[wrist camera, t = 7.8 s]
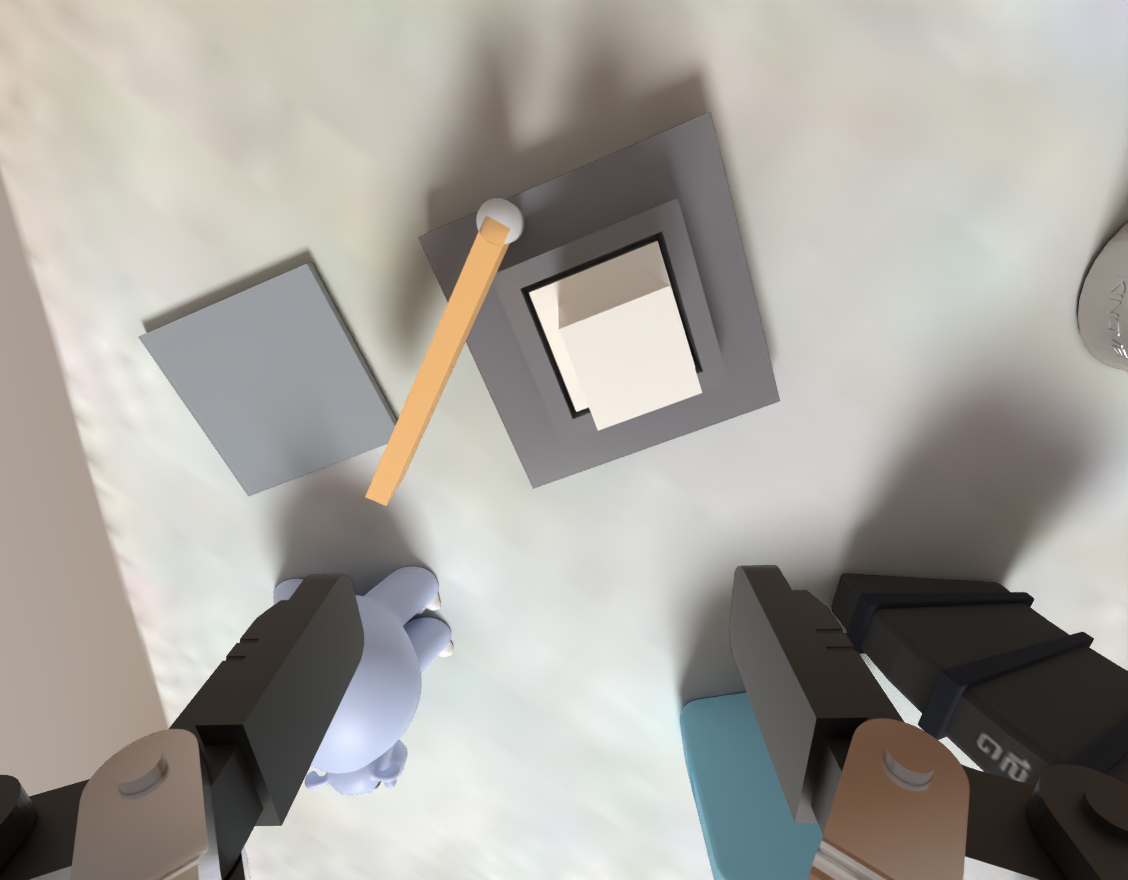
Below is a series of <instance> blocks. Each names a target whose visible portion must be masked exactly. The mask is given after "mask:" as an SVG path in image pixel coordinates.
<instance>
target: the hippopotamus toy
mask: <svg viewBox="0 0 1128 880" xmlns="http://www.w3.org/2000/svg"><path fill="white" fill-rule="evenodd" d="M303 580H304V579H289V580H285V581H283V582H281V583H280V584H279V585H278V586H277V587H276V589H275V591H274V605H275V604H276V603H278V602H279V601H280V600H289V598H290V597H291V596H292V594H293V593H294V592H295V590H296V589H297V588H298V586H299V585H300V584H301V582H302V581H303ZM355 596H356V600H357V604H358V608H359V613H360V617H361V621H362V625H363V630H364V649H363V654H362V658H361V661H360V663H359V665H358V668H357V670H356V672H355V674H354V676H353V678H352V680H351V682H350V684H349V686H348V688H347V690H346V693H345V695H344V697H343V699H342V701H341V703H340V705H339V707H338V709H337V711H336V713H335V716H334V718H333V720H332V722H331V724H330V726H329V728H328V730H327V732H326V734H325V736H324V738H323V741H322V743H321V745H320V747H319V749H318V751H317V753H316V755H315V757H314V759H313V761H312V763H311V766H313V767H315V768H317V769H319V770H322V771H324V772H327V773H326V775H324V776H319V775H318V774H317V773H316V772H315V771H312V772H310V773H309V774H308V775H307V776H306V778H305V786H306V787H307V788H308V789H314V788H318V787H321V786H324V785H327V784H330V785H331V786H332V787H333V788H334V789H335V790H336V791H338V792H339V793H340V794H342V795H350V796H354V795H360V794H364V793H370V792H372V791H373V790H374V789H377V788H378V787H379V785H380V783H381V782H383V783H384V784H385V786H386V787H387V788H392V787H394V786H395V784H396V780H397V778H398V776H399V775H400V774H401V773H402V771H403V769H404V765H405V762H406V759H407V748H406V747H405V745H404V744H403V743H402V742H401V741H400V740H399V739H400V737H401V736H402V735H403V734H404V732H405V731H406V729H407V728H408V726H409V724H410V723H411V721H412V719H413V717H414V715H415V712H416V709H417V707H418V703H419V699H420V694H421V673H422V671H423V670H424V669H425V668H426V667H427V666H428V665H429V664H430V663H431V662H432V661H433V660H434V659H435V658H436V657H437V655H439V656H441V657H446V656H449V655H451V654H452V653H453V645H452V643H451V641H450V639H451V632H450V629H449V627H448V626H447V625H446V624H445V623H444V622H442V621H440V620H438V619H435V618H429V617H423V618H417V619H414V620H412V621H410V622H408V621H409V620H410V619H411V618H412V617H413V616H414V615H416V614H421V613H423V612H424V611H425V609H429V610H432V611H435V610H438V609H439V608H440V607H441V605H440V601H439V596H438V582H437V579H436V577H435V576H434V575H433V574H432V573H431V572H430V571H428V570H426V569H424V568H421V567H416V566H409V567H403V568H400V569H398V570H396V571H394V572H393V573H391V574H390V575H389V576H388V577H386V578H385V579H384V580H383V581H381V582H380V583H379V584H378V585H376V586H375V587H374V588H373V589H371V590H370V591H369V592H368V593H366V594H365V595H364V596H360V595H355ZM407 622H408V623H407ZM406 623H407V624H406ZM405 624H406V625H405Z"/></svg>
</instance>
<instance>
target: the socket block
mask: <svg viewBox="0 0 1128 880" xmlns="http://www.w3.org/2000/svg"><path fill="white" fill-rule="evenodd" d="M506 200H507V201H509V202H511V203H512V204H514V205H515V206H517V207H518V208H519V209H520V211H521V212H522V214H523V216H524V221H525V226H524V231H523V233H522V235H521V236H520V237H519V238H518V239H517V240H516V241H514V242H512V243H510V244H509V246H508V249H507V251H506V253H505V255H504V257H503V260H502V262H501V264H500V266H499V268H498V271H497V273H496V275H495V277H494V280H493V282H492V284H491V286H490V288H489V291H488V293H487V295H486V297H485V299H484V302H483V304H482V306H481V308H480V310H479V313H478V315H477V317H476V319H475V322H474V324H473V326H472V328H471V330H470V333H469V335H468V337H467V339H466V343H467V345H468V347H469V350H470V352H471V354H472V356H473V358H474V361H475V363H476V365H477V367H478V369H479V371H480V374H481V376H482V378H483V380H484V382H485V385H486V387H487V389H488V391H489V393H490V396H491V398H492V400H493V402H494V404H495V406H496V409H497V411H498V413H499V415H500V417H501V420H502V422H503V424H504V426H505V428H506V430H507V433H508V435H509V437H510V439H511V441H512V444H513V446H514V448H515V450H516V452H517V455H518V457H519V459H520V461H521V463H522V465H523V468H524V470H525V472H526V474H527V476H528V479H529V481H530V483H531V485H532V487H533V489H534V488H536V487H539V486H542V485H545V484H548V483H550V482H553V481H556V480H559V479H562V478H565V477H567V476H570V475H573V474H576V473H579V472H582V471H584V470H587V469H590V468H593V467H596V466H598V465H601V464H604V463H607V462H610V461H613V460H615V459H618V458H621V457H624V456H627V455H629V454H632V453H635V452H638V451H641V450H644V449H646V448H649V447H652V446H655V445H658V444H661V443H663V442H666V441H669V440H672V439H675V438H677V437H680V436H683V435H686V434H689V433H692V432H694V431H697V430H700V429H703V428H706V427H708V426H711V425H714V424H717V423H720V422H723V421H725V420H728V419H731V418H734V417H737V416H739V415H742V414H745V413H748V412H751V411H754V410H756V409H759V408H762V407H765V406H768V405H771V404H773V403H776V402H779V401H780V398H779V394H778V390H777V386H776V382H775V378H774V373H773V369H772V365H771V361H770V357H769V353H768V349H767V344H766V340H765V336H764V332H763V328H762V324H761V320H760V316H759V311H758V307H757V303H756V299H755V295H754V291H753V287H752V282H751V278H750V274H749V270H748V266H747V262H746V258H745V254H744V249H743V245H742V241H741V237H740V233H739V229H738V225H737V220H736V216H735V212H734V208H733V204H732V200H731V196H730V191H729V187H728V183H727V179H726V175H725V171H724V167H723V163H722V158H721V154H720V150H719V146H718V142H717V138H716V134H715V129H714V125H713V121H712V117H711V113H710V112H708V113H706V114H704V115H701V116H699V117H697V118H694V119H692V120H690V121H687V122H685V123H683V124H680V125H678V126H676V127H673V128H671V129H669V130H666V131H664V132H662V133H659V134H657V135H655V136H652V137H650V138H648V139H645V140H643V141H641V142H638V143H636V144H634V145H632V146H629V147H627V148H625V149H622V150H620V151H618V152H615V153H613V154H611V155H608V156H606V157H604V158H601V159H599V160H597V161H594V162H592V163H590V164H587V165H585V166H583V167H580V168H578V169H576V170H573V171H571V172H569V173H566V174H564V175H562V176H559V177H557V178H555V179H552V180H550V181H548V182H545V183H543V184H541V185H538V186H536V187H534V188H531V189H529V190H527V191H524V192H522V193H520V194H517V195H515V196H513V197H510V198H508V199H506ZM477 213H478V212H476V213H473V214H471V215H469V216H466V217H464V218H462V219H459V220H457V221H455V222H452V223H450V224H448V225H445V226H443V227H441V228H438V229H436V230H434V231H431V232H429V233H427V234H424V235H422V236H420V237H418V238H419V240H420V243H421V245H422V247H423V249H424V251H425V254H426V256H427V258H428V260H429V262H430V264H431V267H432V269H433V271H434V273H435V275H436V278H437V280H438V282H439V284H440V286H441V288H442V291H443V293H444V295H445V297H446V299H447V302H449V300H450V297H451V295H452V293H453V290H454V288H455V286H456V283H457V281H458V279H459V276H460V274H461V272H462V269H463V267H464V265H465V262H466V260H467V258H468V255H469V253H470V251H471V248H472V246H473V244H474V241H475V239H476V237H477V234H478V232H479V231H478V228H477V223H476V218H477ZM649 240H653V241H658V244H659V247H660V251H661V254H662V258H663V261H664V264H665V268H666V271H667V274H668V278H669V281H670V284H671V288H672V291H673V294H674V298H675V301H676V304H677V308H678V311H679V315H680V318H681V321H682V325H683V328H684V331H685V335H686V338H687V341H688V345H689V348H690V351H691V355H692V358H693V362H694V365H695V370H696V374H697V377H698V380H699V384H700V387H701V390H702V393H701V394H698V395H695V396H692V397H690V398H687V399H684V400H681V401H679V402H676V403H673V404H670V405H668V406H665V407H662V408H659V409H657V410H654V411H651V412H648V413H646V414H643V415H640V416H637V417H635V418H632V419H629V420H626V421H624V422H621V423H618V424H615V425H612V426H610V427H607V428H604V429H601V430H599V431H598V429H597V427H596V424H595V422H594V419H593V417H592V414H591V411H590V409H589V407H588V408H586V409H583V410H580V411H577V412H576V410H575V407H574V405H573V402H572V400H571V397H570V395H569V392H568V390H567V387H566V385H565V382H564V380H563V377H562V375H561V372H560V370H559V367H558V365H557V362H556V360H555V357H554V355H553V352H552V349H551V347H550V344H549V342H548V339H547V337H546V334H545V332H544V329H543V327H542V324H541V322H540V319H539V317H538V314H537V312H536V309H535V307H534V304H533V302H532V299H531V297H530V294H529V292H530V289H531V288H533V287H535V286H538V285H540V284H543V283H545V282H548V281H550V280H553V279H555V278H558V277H560V276H563V275H565V274H568V273H570V272H572V271H575V270H577V269H580V268H582V267H585V266H587V265H590V264H592V263H595V262H597V261H600V260H602V259H605V258H607V257H610V256H612V255H614V254H617V253H619V252H622V251H624V250H627V249H629V248H632V247H634V246H637V245H639V244H642V243H644V242H647V241H649Z"/></svg>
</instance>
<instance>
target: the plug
mask: <svg viewBox="0 0 1128 880" xmlns="http://www.w3.org/2000/svg"><path fill="white" fill-rule="evenodd" d="M529 294H530V297H531V299H532V302H533V304H534V307H535V309H536V312H537V314H538V317H539V319H540V322H541V324H542V327H543V329H544V332H545V334H546V337H547V339H548V342H549V344H550V347H551V349H552V352H553V355H554V357H555V360H556V362H557V365H558V367H559V370H560V372H561V375H562V377H563V380H564V382H565V385H566V387H567V390H568V392H569V395H570V397H571V400H572V402H573V405H574V407H575V410H576V412H577V411H580V410H583V409H586V408H588V407H589V409H590V411H591V414H592V417H593V419H594V422H595V424H596V427H597V429H598V431H599V430H601V429H604V428H607V427H610V426H612V425H615V424H618V423H621V422H624V421H626V420H629V419H632V418H635V417H637V416H640V415H643V414H646V413H648V412H651V411H654V410H657V409H659V408H662V407H665V406H668V405H670V404H673V403H676V402H679V401H681V400H684V399H687V398H690V397H692V396H695V395H698V394H701V393H702V390H701V387H700V384H699V380H698V377H697V374H696V370H695V365H694V362H693V358H692V355H691V351H690V348H689V345H688V341H687V338H686V335H685V331H684V328H683V325H682V321H681V318H680V315H679V311H678V308H677V304H676V301H675V298H674V294H673V291H672V288H671V284H670V281H669V278H668V274H667V271H666V268H665V264H664V261H663V258H662V254H661V251H660V247H659V244H658V241H653V240H649V241H647V242H644V243H642V244H639V245H637V246H634V247H632V248H629V249H627V250H624V251H622V252H619V253H617V254H614V255H612V256H610V257H607V258H605V259H602V260H600V261H597V262H595V263H592V264H590V265H587V266H585V267H582V268H580V269H577V270H575V271H572V272H570V273H568V274H565V275H563V276H560V277H558V278H555V279H553V280H550V281H548V282H545V283H543V284H540V285H538V286H535V287H533V288H531V289H530V292H529Z"/></svg>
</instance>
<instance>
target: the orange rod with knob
mask: <svg viewBox="0 0 1128 880" xmlns="http://www.w3.org/2000/svg"><path fill="white" fill-rule="evenodd" d="M476 223H477V228H478V231H479V232H478V234H477V237H476V239H475V241H474V244H473V246H472V248H471V251H470V253H469V255H468V258H467V260H466V262H465V265H464V267H463V269H462V272H461V274H460V276H459V279H458V281H457V283H456V286H455V288H454V290H453V293H452V295H451V297H450V300H449V302H448V304H447V307H446V309H445V311H444V314H443V316H442V318H441V321H440V323H439V325H438V328H437V330H436V332H435V335H434V337H433V339H432V342H431V344H430V346H429V349H428V351H427V353H426V356H425V358H424V360H423V363H422V365H421V367H420V370H419V372H418V374H417V377H416V379H415V381H414V384H413V386H412V388H411V391H410V393H409V395H408V398H407V400H406V402H405V405H404V407H403V409H402V412H401V414H400V416H399V419H398V421H397V423H396V426H395V428H394V430H393V433H392V435H391V437H390V440H389V442H388V444H387V447H386V449H385V451H384V454H383V456H382V458H381V461H380V463H379V465H378V468H377V470H376V472H375V475H374V477H373V479H372V482H371V484H370V486H369V489H368V491H367V493H366V496H365V497H366V498H368V499H370V500H373V501H375V502H378V503H380V504H382V505H385V506H387V504H388V503H389V501H390V499H391V498H392V496H393V494H394V493H395V491H396V490H397V488H398V486H399V485H400V483H401V481H402V480H403V478H404V476H405V474H406V472H407V470H408V468H409V465H410V463H411V461H412V459H413V457H414V454H415V452H416V450H417V448H418V445H419V443H420V441H421V439H422V437H423V434H424V432H425V430H426V428H427V426H428V423H429V421H430V419H431V417H432V414H433V412H434V410H435V408H436V406H437V403H438V401H439V399H440V397H441V395H442V392H443V390H444V388H445V386H446V384H447V381H448V379H449V377H450V375H451V372H452V370H453V368H454V366H455V364H456V361H457V359H458V357H459V355H460V353H461V350H462V348H463V346H464V344H465V341H466V339H467V337H468V335H469V333H470V330H471V328H472V326H473V324H474V322H475V319H476V317H477V315H478V313H479V310H480V308H481V306H482V304H483V302H484V299H485V297H486V295H487V293H488V291H489V288H490V286H491V284H492V282H493V280H494V277H495V275H496V273H497V271H498V268H499V266H500V264H501V262H502V260H503V257H504V255H505V253H506V251H507V249H508V246H509V244H510V243H512V242H514V241H516V240H517V239H518V238H519V237H520V236H521V235H522V233H523V231H524V226H525V221H524V216H523V214H522V212H521V211H520V209H519V208H518V207H517V206H515V205H514V204H512V203H511V202H509V201H507V200H505V199H502V198H492V199H489V200H487V201H486V202H485V203H483V204H482V205H481V207H480V208H479V210H478V213H477V218H476Z"/></svg>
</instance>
